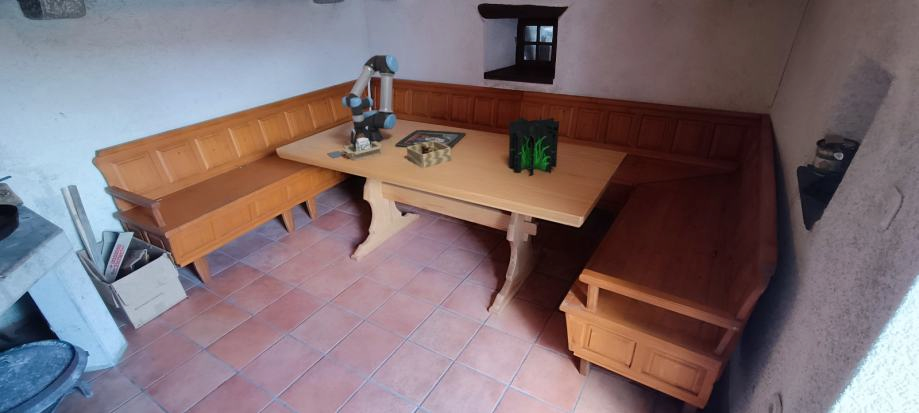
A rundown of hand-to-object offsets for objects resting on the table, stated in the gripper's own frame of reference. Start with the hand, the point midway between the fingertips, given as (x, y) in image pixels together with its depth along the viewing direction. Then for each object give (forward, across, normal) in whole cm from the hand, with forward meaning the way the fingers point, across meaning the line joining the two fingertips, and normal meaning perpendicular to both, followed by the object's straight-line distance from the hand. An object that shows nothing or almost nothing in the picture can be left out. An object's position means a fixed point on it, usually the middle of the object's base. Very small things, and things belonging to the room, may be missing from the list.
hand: (363, 150), depth 307 cm
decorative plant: (+3, -75, +97) cm, 123 cm away
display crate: (+3, -31, +41) cm, 52 cm away
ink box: (+3, 0, 0) cm, 3 cm away
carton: (+3, 0, 0) cm, 3 cm away
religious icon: (+4, -55, +6) cm, 55 cm away
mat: (+3, +16, -14) cm, 21 cm away
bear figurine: (+4, -32, +39) cm, 50 cm away
